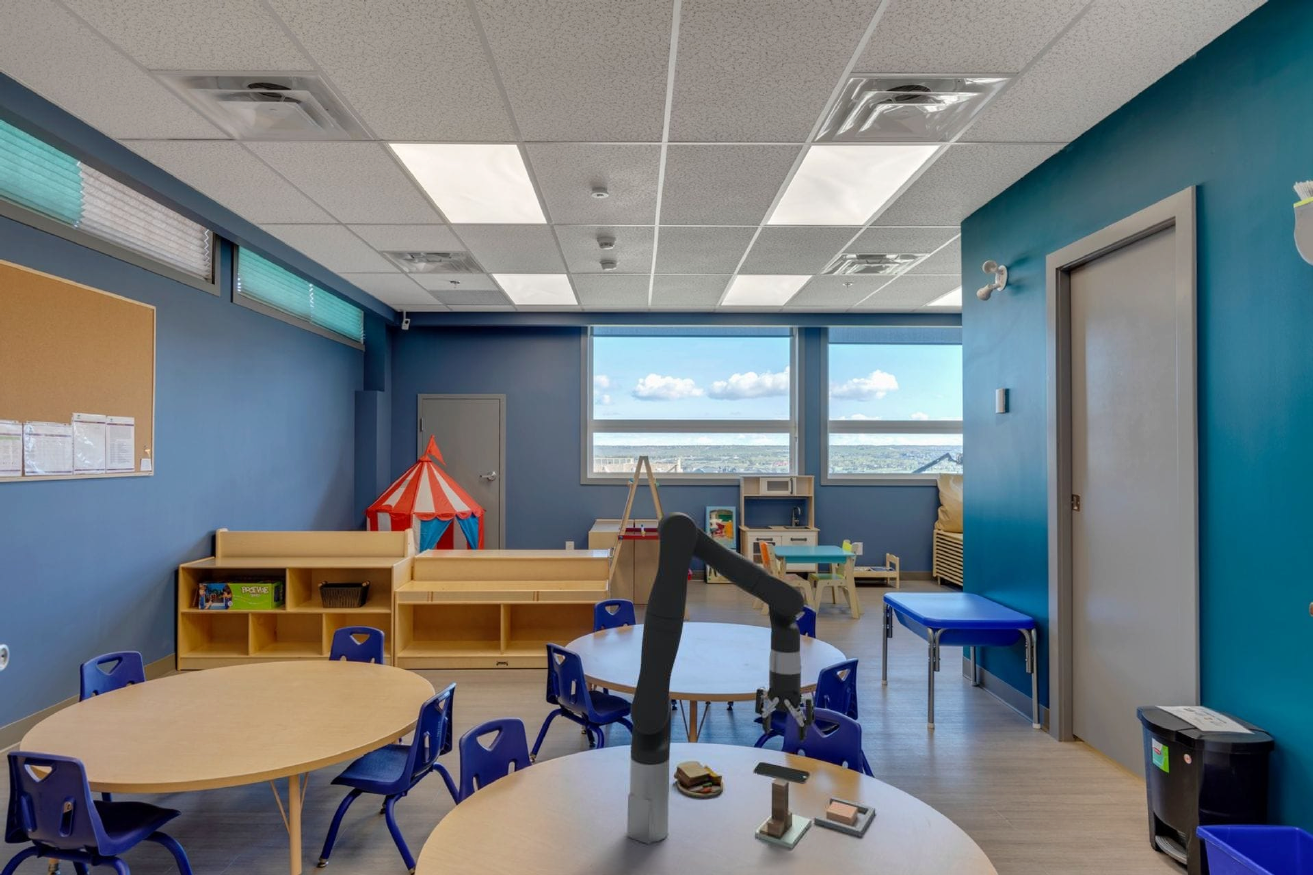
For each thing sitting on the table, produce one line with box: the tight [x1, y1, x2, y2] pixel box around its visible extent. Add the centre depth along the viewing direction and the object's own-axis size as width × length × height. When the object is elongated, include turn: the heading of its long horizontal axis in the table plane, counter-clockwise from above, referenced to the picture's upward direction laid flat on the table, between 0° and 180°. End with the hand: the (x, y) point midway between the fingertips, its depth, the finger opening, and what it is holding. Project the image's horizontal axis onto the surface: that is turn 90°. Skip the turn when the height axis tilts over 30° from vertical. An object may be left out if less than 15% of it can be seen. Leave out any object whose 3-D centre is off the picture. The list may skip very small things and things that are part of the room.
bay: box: [813, 795, 876, 838], centre depth 165 cm, size 13×11×1 cm
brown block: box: [759, 778, 793, 840], centre depth 158 cm, size 8×5×11 cm, turn 148°
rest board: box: [754, 813, 812, 849], centre depth 159 cm, size 13×9×1 cm
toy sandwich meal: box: [673, 760, 724, 798], centre depth 180 cm, size 12×14×5 cm
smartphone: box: [753, 761, 811, 784], centre depth 190 cm, size 8×1×15 cm
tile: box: [825, 801, 858, 827], centre depth 165 cm, size 6×6×2 cm
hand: (784, 736), depth 160 cm, fingers open, 8 cm apart
